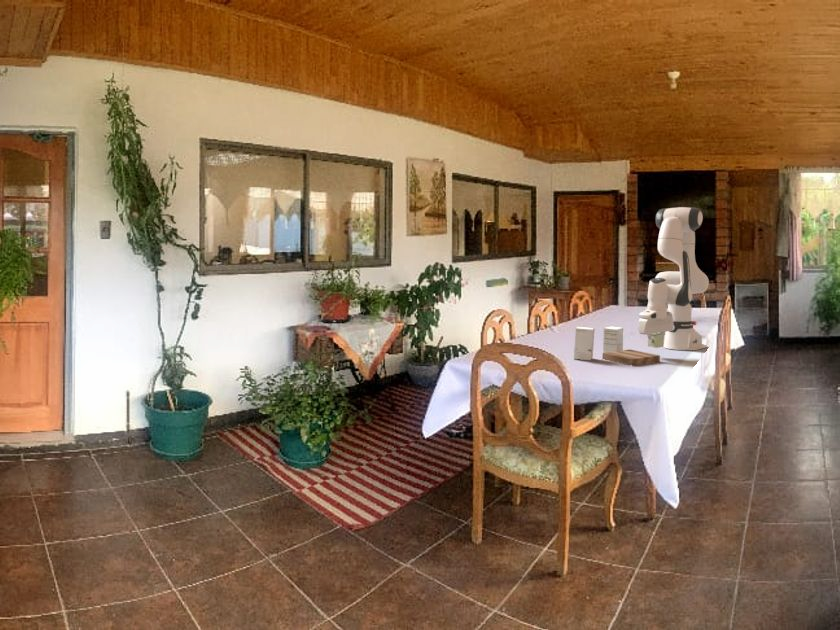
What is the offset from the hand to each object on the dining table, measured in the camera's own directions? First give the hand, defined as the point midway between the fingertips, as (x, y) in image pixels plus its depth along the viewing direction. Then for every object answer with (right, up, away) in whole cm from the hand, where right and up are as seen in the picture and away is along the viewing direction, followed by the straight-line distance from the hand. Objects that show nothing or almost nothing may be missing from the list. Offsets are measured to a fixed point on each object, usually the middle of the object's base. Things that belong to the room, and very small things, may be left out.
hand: (655, 341), depth 334 cm
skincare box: (-35, -8, -2) cm, 36 cm away
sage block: (0, -2, 0) cm, 2 cm away
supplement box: (-17, -6, +13) cm, 22 cm away
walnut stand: (-14, -8, -6) cm, 17 cm away
